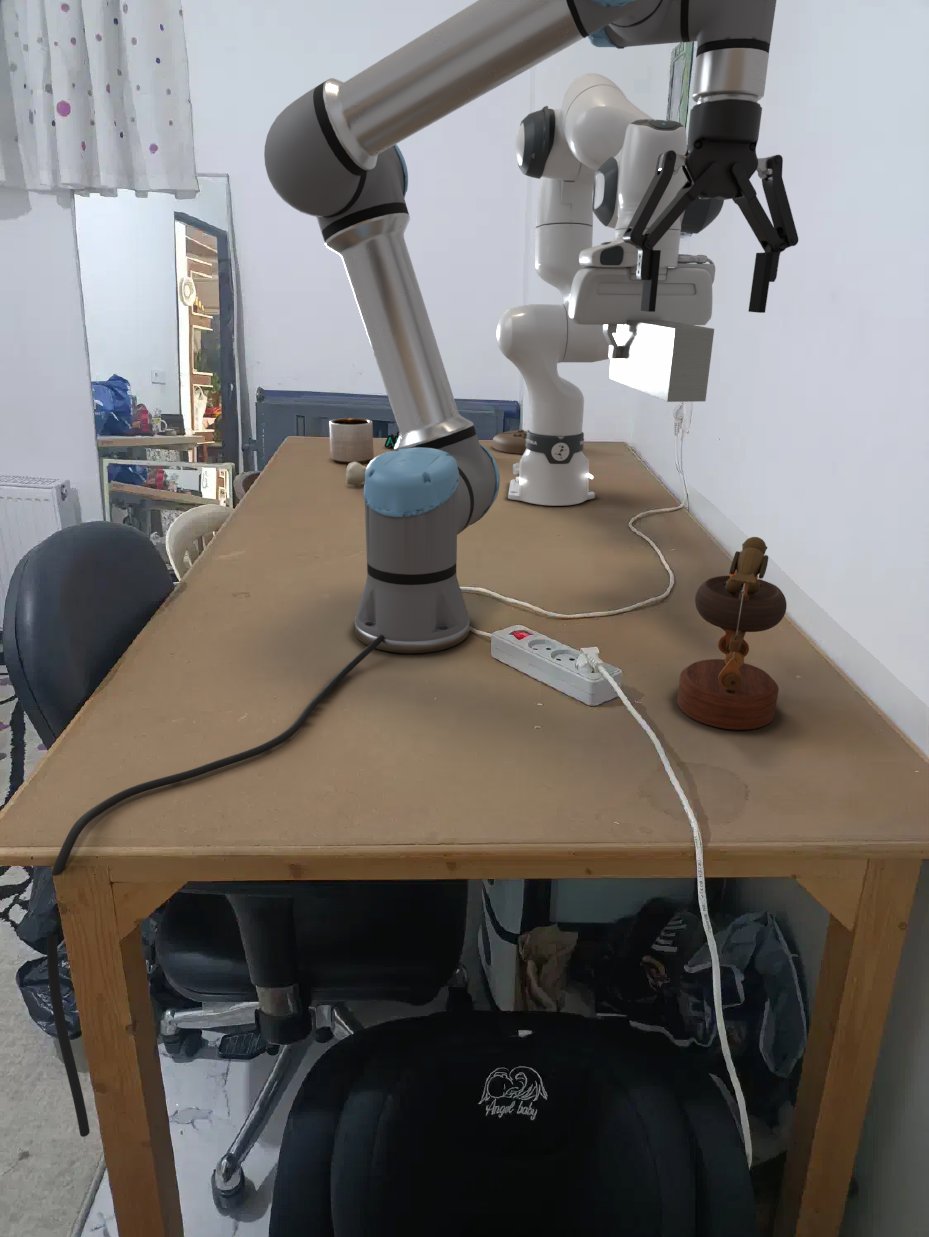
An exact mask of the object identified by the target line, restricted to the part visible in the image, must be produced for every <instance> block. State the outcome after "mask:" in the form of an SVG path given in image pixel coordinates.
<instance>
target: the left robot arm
mask: <svg viewBox="0 0 929 1237" xmlns="http://www.w3.org/2000/svg"><path fill="white" fill-rule="evenodd" d="M776 7H777V0H476V1H475V2H473V3H471V4H470V5H468V6H466V7H465V8H463V9H461V10H459V11H458V12H457V13H455V14H453V15H451V16H450V17H448V18H447V19H445V20H444V21H442V22H441V23H438V24H437V25H435V26H433V27H432V28H430V29H429V30H427V31H426V32H424V33H422V34H421V35H419V36H418V37H416V38H414V39H413V40H411V41H409V42H408V43H406V44H405V45H403V46H401V47H400V48H398V49H397V50H395V51H393V52H391V53H389V54H388V55H387V56H385V57H383V58H381V59H379V60H377V62H375V63H374V64H372V65H370V66H368V67H367V68H365V69H364V70H362V71H361V72H359V73H357V74H355V75H354V76H353V77H351V78H349V79H347V80H346V81H344V82H343V81H342V80H339V79H337V78H335V77H329V78H328V79H326V80H324V81H323V82H322V83H320V84H318V85H317V86H315V87H313V88H311V89H310V90H308V91H307V92H305V93H304V94H303V95H301V96H300V97H298V98H297V99H295V100H293V102H291V103H289V105H287V106H286V107H285V108H284V109H283V110H282V111H281V112H280V113H279V114H278V115H277V116H276V117H275V119H274V121H273V123H272V124H271V126H270V128H269V130H268V132H267V135H266V138H265V144H264V154H263V155H264V156H263V157H264V167H265V171H266V174H267V178H268V180H269V182H270V184H271V186H272V188H273V190H274V192H275V193H276V194H277V196H278V197H279V198H280V199H281V200H282V202H284V203H285V204H286V205H287V206H289V207H290V208H291V209H293V210H295V211H297V212H298V213H300V214H304V215H307V216H311V217H315V219H316V221H317V224H318V227H319V230H320V233H321V236H322V239H323V242H324V245H325V246H326V248H327V249H329V250H331V251H332V252H334V253H336V254H338V256H340V257H341V259H342V262H343V266H344V269H345V271H346V275H347V278H348V280H349V284H350V286H351V290H352V292H353V296H354V299H355V302H356V304H357V307H358V310H359V313H360V316H361V320H362V323H363V325H364V329H365V332H366V335H367V338H368V341H369V344H370V347H371V350H372V353H373V356H374V359H375V362H376V365H377V368H378V371H379V374H380V377H381V380H382V383H383V386H384V388H385V392H386V395H387V398H388V401H389V404H390V407H391V410H392V413H393V416H394V419H395V422H396V426H397V428H398V431H399V433H400V436H399V438H398V440H397V442H396V444H395V447H394V448H393V450H389V451H386V452H383V453H380V454H379V455H377V456H375V457H373V459H372V460H370V461H369V463H368V464H367V466H366V467H367V468H366V471H365V482H364V485H363V489H362V493H363V494H362V495H363V500H364V520H365V545H366V546H365V550H366V579H365V584H364V586H363V589H362V592H361V596H360V600H359V602H358V606H357V609H356V612H355V617H354V633H355V636H356V638H357V639H358V640H359V641H360V642H362V643H363V644H365V645H367V646H366V647H365V648H364V649H362V650H361V652H359V653H358V654H357V655H356V656H355V657H354V658H353V659H352V660H351V661H350V662H349V663H348V664H346V665H345V666H344V668H342V669H341V670H340V671H339V673H337V674H336V675H335V676H334V677H333V678H332V679H331V680H330V681H329V682H328V683H327V684H326V685H325V686H324V687H323V688H322V690H321V691H320V692H319V693H318V694H317V695H316V696H315V697H314V698H312V700H310V702H309V703H308V704H307V706H305V708H304V709H303V711H302V712H301V713H300V715H299V716H298V718H297V719H296V720H295V721H294V723H292V725H290V727H288V728H287V729H286V730H285V731H283V732H282V733H280V734H279V735H277V736H275V737H274V738H272V739H270V740H268V741H266V742H265V743H262V744H260V745H258V746H255V747H253V748H250V749H248V750H245V751H242V752H239V753H236V754H233V755H229V756H227V757H223V758H220V759H218V760H215V761H212V762H209V763H206V764H204V765H201V766H198V767H194V768H191V769H189V770H185V771H182V772H179V773H174V774H170V775H168V776H164V777H159V778H156V779H153V780H149V781H146V782H142V783H139V784H136V785H134V786H131V787H128V788H125V789H123V790H122V791H120V792H118V793H115V794H113V795H112V796H110V797H109V798H107V799H105V800H103V801H102V802H100V803H98V804H96V805H95V806H94V807H92V808H91V809H89V810H88V811H86V812H85V813H84V814H83V815H81V817H79V818H78V819H77V820H76V822H75V823H74V824H73V826H72V827H71V829H70V830H69V832H68V834H67V836H66V837H65V840H64V842H63V844H62V846H61V848H60V851H59V853H58V855H57V857H56V859H55V862H54V865H53V868H52V871H51V876H53V877H56V876H59V875H61V874H62V873H63V872H64V869H65V866H66V865H67V862H68V860H69V857H70V855H71V853H72V850H73V848H74V846H75V844H76V841H77V840H78V838H79V836H80V835H81V833H82V832H83V830H84V828H85V827H86V826H87V825H88V824H89V823H90V822H91V821H92V820H94V819H95V818H97V817H98V816H100V815H101V814H102V813H104V812H106V811H107V810H109V809H110V808H112V807H114V806H116V805H117V804H119V803H121V802H122V801H124V800H126V799H129V798H131V797H133V796H135V795H138V794H141V793H144V792H147V791H150V790H151V791H152V790H154V789H157V788H161V787H164V786H165V787H166V786H169V785H173V784H176V783H179V782H183V781H186V780H190V779H193V778H196V777H199V776H202V775H204V774H208V773H210V772H213V771H215V770H218V769H221V768H224V767H227V766H230V765H234V764H236V763H239V762H243V761H245V760H249V759H251V758H253V757H256V756H258V755H261V754H263V753H266V752H267V751H270V750H272V749H274V748H275V747H277V746H279V745H281V744H282V743H283V742H286V741H287V740H288V739H290V738H291V737H292V736H293V735H294V734H296V733H297V732H298V731H299V730H300V729H301V727H303V725H304V724H305V722H306V721H307V719H308V718H309V717H310V715H311V714H312V712H313V711H314V710H315V709H316V708H317V707H318V705H319V704H320V703H321V702H322V701H323V700H324V699H325V698H326V697H327V696H328V695H329V694H330V693H331V692H332V691H333V690H334V688H335V687H336V686H337V685H338V684H339V683H341V682H342V681H343V680H344V678H345V677H346V676H347V675H348V674H349V673H350V672H351V671H352V670H353V669H354V668H356V667H357V666H358V665H359V664H360V663H361V662H362V661H363V660H364V659H365V658H366V657H367V656H369V654H370V653H372V652H373V651H374V650H375V649H377V650H380V651H384V652H390V653H396V654H397V653H398V654H425V653H433V652H439V651H443V650H446V649H449V648H452V647H455V646H457V645H458V644H460V643H462V642H463V641H464V640H466V639H467V637H468V636H469V634H470V616H469V612H468V608H467V606H466V601H465V599H464V596H463V593H462V589H461V586H460V583H459V581H458V577H457V561H458V560H457V559H458V558H457V557H458V556H457V554H458V535H460V534H461V533H462V532H463V531H464V530H466V529H467V528H469V526H472V525H474V524H476V523H477V522H478V521H480V520H481V519H482V518H483V517H484V516H485V515H486V514H487V513H488V512H489V510H490V509H491V507H492V506H493V504H494V503H495V501H496V499H497V497H498V494H499V490H500V484H501V477H500V469H499V466H498V463H497V461H496V459H495V457H494V455H493V454H492V453H491V452H490V451H489V449H488V448H487V447H485V446H484V445H482V444H481V443H480V439H479V437H478V434H477V430H476V428H475V425H474V422H473V421H471V420H470V419H467V418H466V417H464V416H462V415H461V414H460V413H459V410H458V407H457V403H456V400H455V397H454V394H453V391H452V387H451V384H450V381H449V377H448V374H447V371H446V368H445V365H444V362H443V359H442V355H441V353H440V349H439V346H438V342H437V339H436V337H435V333H434V330H433V326H432V324H431V320H430V317H429V314H428V310H427V307H426V304H425V301H424V297H423V294H422V291H421V287H420V285H419V281H418V278H417V275H416V272H415V269H414V266H413V262H412V259H411V256H410V253H409V252H410V251H409V249H408V246H407V243H406V240H405V232H406V229H407V227H408V225H409V222H410V220H411V216H410V212H409V209H408V206H407V203H406V200H405V198H406V194H407V192H408V189H409V188H408V187H409V173H408V172H409V171H408V166H407V163H406V160H405V157H404V155H403V152H402V151H401V149H400V147H399V146H398V144H399V143H400V142H403V141H405V140H406V139H408V138H410V137H412V136H414V135H415V134H417V133H418V132H420V131H422V130H424V129H425V128H428V127H429V126H431V125H433V124H434V123H436V122H438V121H439V120H441V119H443V118H445V117H447V116H449V115H450V114H452V113H454V112H456V111H458V110H459V109H461V108H462V107H464V106H466V105H468V104H470V103H471V102H473V101H475V100H477V99H479V98H480V97H482V96H484V95H486V94H488V93H489V92H491V91H493V90H494V89H496V88H498V87H501V85H503V84H505V83H506V82H509V81H511V80H512V79H514V78H515V77H518V76H519V75H521V74H523V73H524V72H526V71H528V70H530V69H533V67H535V66H536V65H539V64H540V63H542V62H544V61H546V60H547V59H549V58H551V57H552V56H554V55H557V54H558V53H560V52H562V51H563V50H566V49H568V48H569V47H570V46H572V45H574V44H576V43H577V42H579V41H581V40H583V39H586V38H588V41H589V42H590V44H591V45H592V46H594V47H596V48H615V49H618V50H624V49H625V48H628V47H629V48H630V47H641V46H642V47H643V46H654V45H664V44H665V45H667V44H675V43H676V44H677V43H679V44H680V43H691V42H697V43H696V44H697V45H696V46H697V48H696V53H695V64H694V74H693V82H692V83H693V84H692V93H691V99H692V100H693V101H694V102H695V103H696V104H695V105H693V107H692V108H691V109H690V112H689V121H688V131H687V145H688V146H687V151H686V154H685V155H680V154H676V153H675V151H673V150H670V151H667V152H664V153H661V154H660V155H659V156H658V160H657V165H656V171H655V175H654V177H653V179H652V181H651V183H650V185H649V187H648V189H647V191H646V193H645V195H644V197H643V198H642V200H641V202H640V204H639V206H638V208H637V210H636V212H635V214H634V216H633V218H632V220H631V222H630V223H629V225H628V227H627V229H626V231H625V233H624V235H623V240H624V242H625V243H629V244H631V245H633V246H635V247H636V248H637V249H638V260H637V272H636V276H637V280H643V289H642V301H641V311H648V312H655V307H656V296H657V286H658V275H659V265H660V254H661V250H653V247H654V246H655V245H656V244H657V242H658V241H659V240H660V239H661V238H662V237H663V235H664V234H665V233H666V232H667V231H668V229H669V228H670V227H671V226H672V225H673V224H674V222H675V221H676V220H677V219H678V218H679V216H680V215H681V214H682V213H683V212H684V211H685V209H686V208H687V207H688V206H689V205H690V203H691V202H692V201H694V200H695V199H696V198H697V197H699V199H710V198H715V199H718V200H724V201H727V200H732V201H733V203H734V204H735V205H736V206H738V208H739V210H740V211H741V213H742V215H743V217H744V218H745V220H746V222H747V224H748V225H749V227H750V229H751V231H752V233H753V234H754V236H755V238H756V239H757V241H758V242H759V244H760V246H761V248H762V250H763V251H764V252H756V253H755V259H754V267H753V274H752V275H753V276H752V283H751V288H750V289H751V290H750V297H749V304H748V311H747V312H749V313H759V314H762V313H763V314H764V313H766V309H767V301H768V295H769V287H770V283H775V282H776V279H777V277H778V270H779V262H780V256H781V253H782V252H784V251H786V249H788V248H791V247H795V246H797V245H798V243H799V236H798V232H797V228H796V224H795V221H794V217H793V213H792V209H791V205H790V201H789V198H788V195H787V191H786V187H785V182H784V180H783V162H784V158H783V156H782V155H780V154H774V155H771V156H767V157H759V158H758V155H757V145H758V141H759V137H760V129H761V122H762V114H763V107H762V106H761V104H760V103H759V102H758V101H761V100H762V99H763V98H764V96H765V90H766V81H767V75H768V67H769V66H768V65H769V57H770V48H771V42H772V35H773V27H774V20H775V13H776ZM680 167H682V170H683V172H684V174H685V176H686V178H687V180H688V181H687V182H686V183H685V184H684V185H683V186H682V188H681V189H680V190H679V191H678V193H677V195H676V197H675V198H674V199H673V200H672V201H671V202H670V204H669V205H668V206H667V207H666V208H665V210H664V211H663V212H662V213H661V214H660V216H659V217H658V218H657V219H656V220H655V222H654V223H653V224H652V225H651V226H650V228H649V229H648V230H647V231H646V232H645V233H644V235H643V232H644V230H645V228H646V226H647V224H648V222H649V221H650V219H651V217H652V215H653V213H654V211H655V209H656V207H657V205H658V203H659V202H660V200H661V198H662V196H663V194H664V192H665V190H666V188H667V186H668V184H669V182H670V180H671V178H672V175H675V174H676V173H677V172H678V170H679V168H680ZM756 172H757V176H758V178H759V179H761V185H762V189H763V194H764V196H765V200H766V204H767V208H768V210H769V211H768V212H769V214H770V215H769V216H770V218H769V216H768V214H767V213H766V211H765V209H764V207H763V205H762V204H761V202H760V200H759V199H758V196H757V191H756V188H755V187H754V186H753V184H752V181H751V180H750V179H751V178H752V177H753V175H754V174H755V173H756ZM770 219H771V220H770ZM58 946H59V945H58V934H46V961H47V977H48V987H49V988H48V989H49V995H50V1003H51V1009H52V1014H53V1015H52V1016H53V1021H54V1025H55V1026H54V1027H55V1029H56V1035H57V1039H58V1044H59V1048H60V1052H61V1057H62V1060H63V1064H64V1068H65V1071H66V1076H67V1079H68V1085H69V1088H70V1092H71V1096H72V1101H73V1106H74V1110H75V1115H76V1120H77V1124H78V1125H77V1126H78V1131H79V1135H80V1137H81V1138H85V1137H87V1136H88V1135H89V1134H90V1133H91V1132H90V1131H91V1130H90V1125H89V1119H88V1114H87V1109H86V1103H85V1099H84V1094H83V1090H82V1085H81V1081H80V1077H79V1073H78V1068H77V1064H76V1060H75V1056H74V1053H73V1048H72V1044H71V1040H70V1035H69V1031H68V1026H67V1022H66V1016H65V1015H66V1014H65V1010H64V1004H63V997H62V990H61V979H60V971H59V970H60V968H59V951H58V950H59V948H58Z"/></svg>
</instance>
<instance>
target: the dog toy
mask: <svg viewBox="0 0 929 1237" xmlns="http://www.w3.org/2000/svg"><path fill="white" fill-rule="evenodd" d="M366 468H367V466H365V465H362V463H358V462H352V463H348V465H347V467H346V470H345V473H346V474H345V479H346V484H348V485H352V486H357V485H360V484H362V483H365V471H366Z"/></svg>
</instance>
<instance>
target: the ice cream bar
mask: <svg viewBox="0 0 929 1237" xmlns="http://www.w3.org/2000/svg"><path fill="white" fill-rule="evenodd" d="M528 430H529V429H527V430H524V429H523V428H522V429H516V430H509V431H504V432H500V433H497V434H495V435H494V436H493V437H492V448H493V449H494V450H496V451H499V452H503V453H509V454H518V455H519V454H520V455H523V454H524V452H525V450H526V446H525V445H526V436H527V431H528Z"/></svg>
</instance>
